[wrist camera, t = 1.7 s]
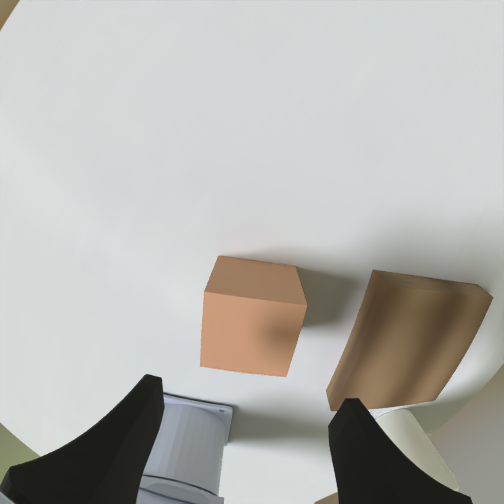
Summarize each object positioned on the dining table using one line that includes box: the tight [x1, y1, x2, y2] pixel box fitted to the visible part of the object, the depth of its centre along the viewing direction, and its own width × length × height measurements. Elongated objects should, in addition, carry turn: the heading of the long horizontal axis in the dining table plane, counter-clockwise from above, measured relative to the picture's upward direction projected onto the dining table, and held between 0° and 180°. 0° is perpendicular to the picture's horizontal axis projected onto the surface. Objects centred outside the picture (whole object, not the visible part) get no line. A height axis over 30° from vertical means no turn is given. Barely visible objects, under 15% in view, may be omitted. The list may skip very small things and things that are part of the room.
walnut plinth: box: [326, 270, 493, 411], centre depth 19 cm, size 12×12×3 cm
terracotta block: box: [200, 256, 307, 377], centre depth 16 cm, size 5×5×5 cm
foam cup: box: [375, 409, 459, 491], centre depth 18 cm, size 10×9×13 cm
